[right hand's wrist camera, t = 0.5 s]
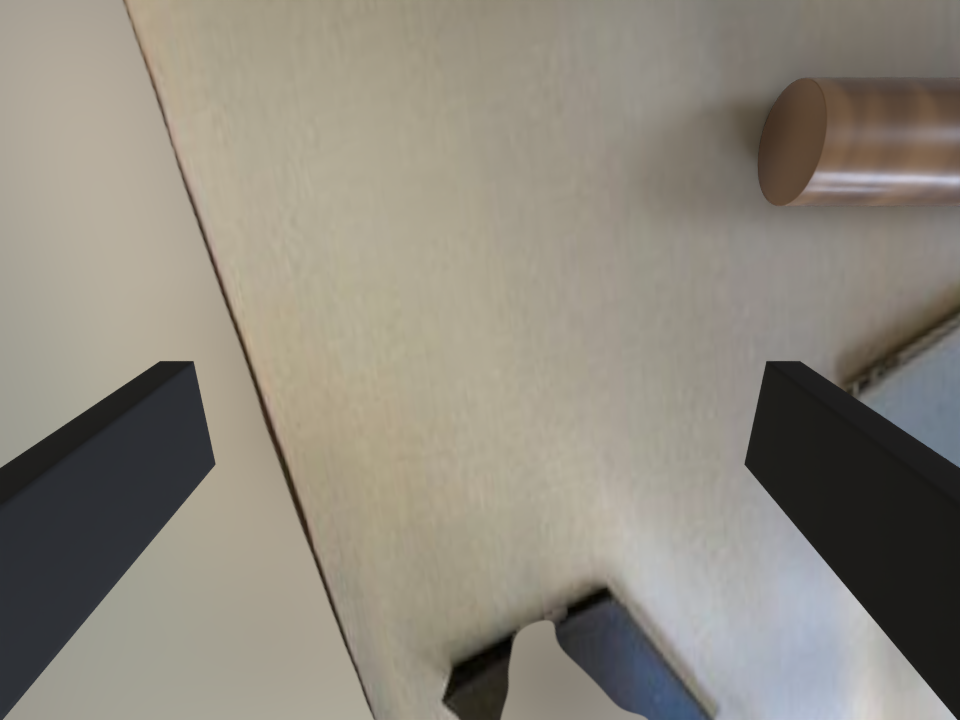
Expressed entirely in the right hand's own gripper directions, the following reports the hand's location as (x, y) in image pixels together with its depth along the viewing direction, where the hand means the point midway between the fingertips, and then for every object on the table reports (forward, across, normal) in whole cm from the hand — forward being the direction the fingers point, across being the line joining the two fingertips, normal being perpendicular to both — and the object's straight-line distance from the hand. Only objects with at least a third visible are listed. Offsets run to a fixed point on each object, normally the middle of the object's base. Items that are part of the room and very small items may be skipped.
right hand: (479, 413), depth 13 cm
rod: (+35, +35, +6) cm, 50 cm away
